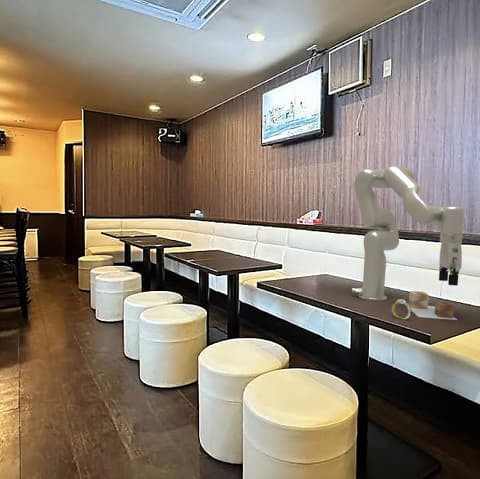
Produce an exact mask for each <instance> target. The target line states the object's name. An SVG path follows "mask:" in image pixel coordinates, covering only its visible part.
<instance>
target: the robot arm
mask: <svg viewBox="0 0 480 479" xmlns="http://www.w3.org/2000/svg"><path fill="white" fill-rule="evenodd" d="M414 179H415V173H414V171H413V170H412V169H410V167H405V166H399V165H391V166H388V167H387V168H385V169H376V168H365V169H361V170H360V171H359V172H358V173H357V175H356V176H355V178H354V182H353V186H354V187H353V189H354V192H355V195H356V198H357V202H358V206H359V212H360V216H361V220H362V224H363V225H364V226H365V227H366V228H368V229H373V230H369V231H368V232H367V233H365V235H364V238H363V247H364V248H363V250H364V260H363V276H362V277H363V278H362V286H360V287H358V288H356V287H355V288H354V287H352V288H351V292H352V293H356V294H358V297H359V298H360V299H362V300H365V301H366V300H373V301H374V300H376V301H382V300H383V301H385V300H387V299H388V296H386V295H385V280H386V271H387V270H386V269H387V268H386V267H387V257H386V253H385V251H392V250H395V249H396V248H398V246H399V244H400V236H399V232H398V227H397V222H396V219H395V215H394V213H393V212H392V211H391V209H388V208H383V207H380V205H379V201H378V197H377V195H376V193H375V192H374V190H373V189H374V188H375V189H376V188H377V189H392V190H393V191H394V192H395V193H396V195H397V196H399V198H400V199H402V205H403V208H404V211H406V213H407V214H408V215H409V216H410V217H411V218H412V219H413V220H415V222H417V223H418V224H420V225H426V226H427V225H431V226H438V225H440V233H439V234H440V235H439V242H440V243H441V244H440V250H439V268H438V269H439V274H438V281H441V282H447V285H448V286H458V285H459V275H460V273H459V272H460V270H461V269H462V259H463V257H462V256H463V255H462V254H463V253H462V243H463V230H464V221H465V220H464V218H465V217H464V216H465V210H464V207H462V206H440V205H439V206H438V205H427V204H426V203H425V202H424V201H423V200H422V199H421V198H420V197H419V196H418V194H419V193H420V189H421V187H420V185H419V184H418V182H416V181H415V180H414ZM372 188H373V189H372ZM374 229H375V230H374Z"/></svg>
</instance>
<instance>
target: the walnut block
mask: <svg viewBox="0 0 480 479" xmlns="http://www.w3.org/2000/svg"><path fill="white" fill-rule="evenodd" d="M434 306H435V313H434V314H436V315H437V316H438V317H443V318H453V317H454V309H455V305H453V304H452V303H451V302H449V301H435V303H434Z"/></svg>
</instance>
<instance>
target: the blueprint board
mask: <svg viewBox="0 0 480 479" xmlns="http://www.w3.org/2000/svg"><path fill="white" fill-rule="evenodd" d="M410 307H411V306H410ZM411 312H413V313H414V314H415V316H417V317H418V318H428V319H440V320H453V321H458V319H457V318H456V317H454V316H453V318H443V317H438V316H437V315H436V314H434V313H435V305H428V309H417V308H412V307H411Z"/></svg>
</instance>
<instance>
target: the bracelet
mask: <svg viewBox="0 0 480 479" xmlns="http://www.w3.org/2000/svg"><path fill="white" fill-rule="evenodd" d="M399 304H402V305H403V304H404V306H406V308H407V312H408V313H407V315H406V316H405V317H402V316H401V317H400V316H399V315H398V314H397V313H396V309H395V308H396V305H399ZM391 312H392V314H393V316H394V317H395V318H397V319H402V320H408V319H409V318H410V316H411V314H412V310H411V307H410V305H409V302H407V301H406V300H405V299H404V298H400V299H398V298H397V300H396V301H395V302H394V303H393V304H392V305H391Z"/></svg>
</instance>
